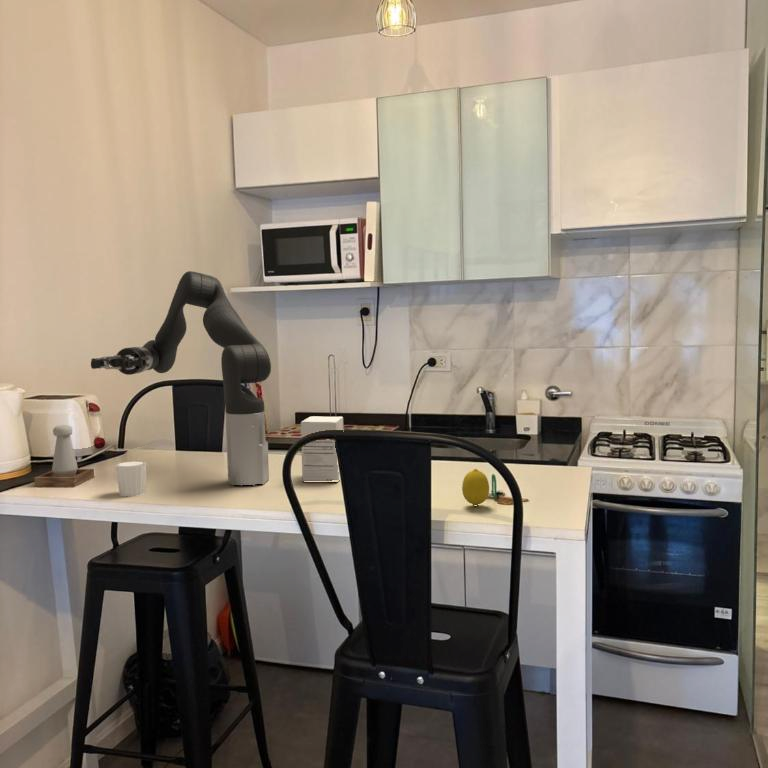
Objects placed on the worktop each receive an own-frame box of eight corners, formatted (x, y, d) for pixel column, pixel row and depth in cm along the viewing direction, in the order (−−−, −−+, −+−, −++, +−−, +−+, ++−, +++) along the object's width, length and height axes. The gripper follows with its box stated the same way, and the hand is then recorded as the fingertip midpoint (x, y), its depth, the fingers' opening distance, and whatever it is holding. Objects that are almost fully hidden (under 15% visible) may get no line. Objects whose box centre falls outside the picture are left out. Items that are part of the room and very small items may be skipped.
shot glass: (138, 497, 164) (137, 467, 163) (110, 496, 165) (108, 466, 164) (153, 490, 170) (152, 460, 170) (126, 489, 172) (125, 460, 171)
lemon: (487, 503, 154) (487, 466, 153) (490, 510, 148) (490, 471, 148) (461, 503, 154) (461, 466, 153) (463, 510, 149) (463, 472, 148)
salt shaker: (68, 480, 177) (65, 427, 176) (47, 480, 178) (44, 427, 177) (83, 475, 183) (79, 424, 181) (62, 474, 184) (59, 423, 183)
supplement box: (310, 474, 184) (309, 415, 183) (345, 475, 183) (344, 415, 181) (301, 482, 175) (299, 421, 174) (337, 483, 174) (336, 421, 172)
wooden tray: (94, 477, 185) (93, 468, 185) (74, 486, 175) (74, 477, 175) (56, 477, 186) (56, 468, 186) (34, 486, 176) (34, 477, 176)
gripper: (109, 347, 207) (81, 350, 191) (158, 346, 206) (134, 349, 190) (111, 373, 208) (83, 379, 192) (159, 373, 207) (135, 378, 191)
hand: (108, 364), depth 191 cm, fingers open, 8 cm apart
